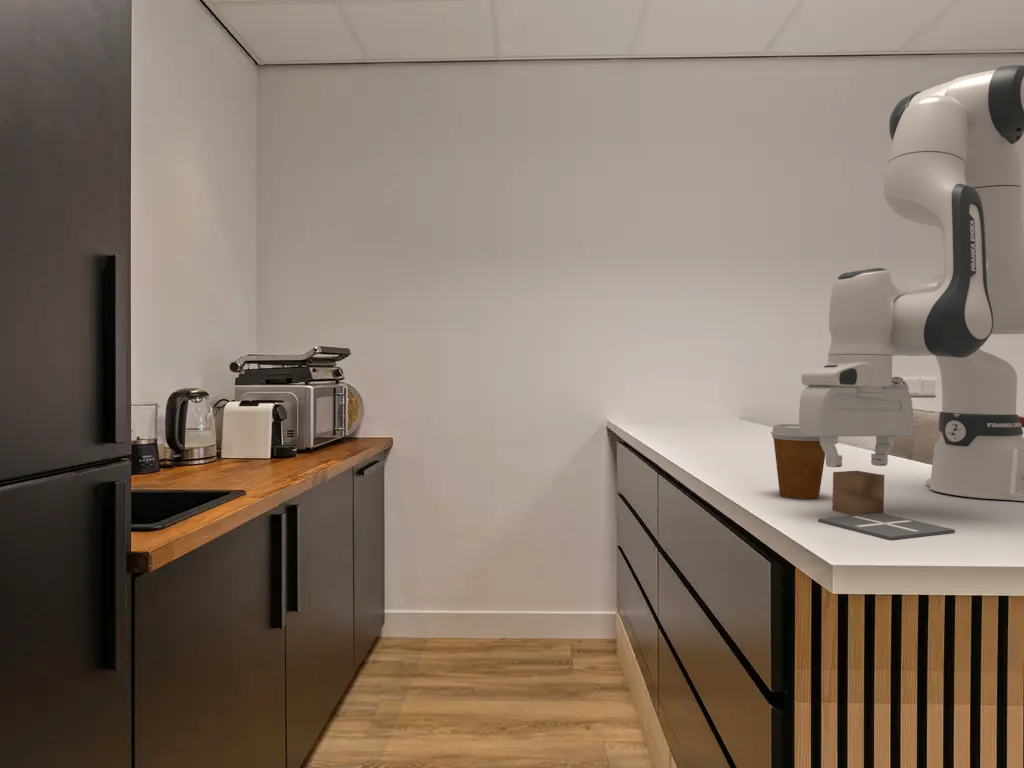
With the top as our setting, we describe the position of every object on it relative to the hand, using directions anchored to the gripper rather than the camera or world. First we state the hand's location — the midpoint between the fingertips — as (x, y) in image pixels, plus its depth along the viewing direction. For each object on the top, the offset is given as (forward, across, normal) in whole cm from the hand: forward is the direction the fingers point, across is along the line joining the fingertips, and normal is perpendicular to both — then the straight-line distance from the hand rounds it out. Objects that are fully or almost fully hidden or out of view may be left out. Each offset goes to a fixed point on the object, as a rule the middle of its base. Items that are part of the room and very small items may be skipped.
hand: (856, 466), depth 111 cm
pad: (+7, +4, +8) cm, 12 cm away
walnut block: (+7, -1, 0) cm, 7 cm away
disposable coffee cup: (+7, -3, -14) cm, 16 cm away
